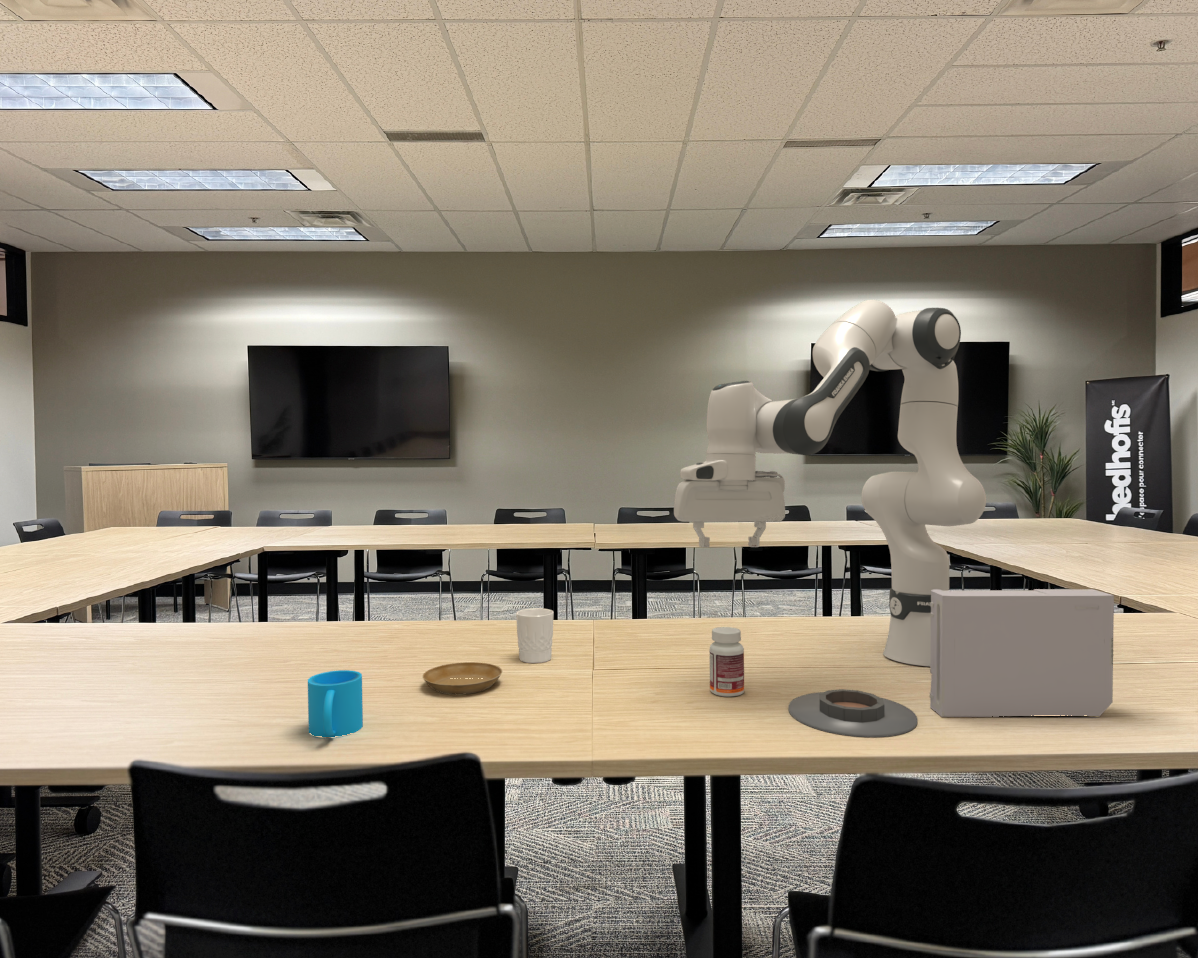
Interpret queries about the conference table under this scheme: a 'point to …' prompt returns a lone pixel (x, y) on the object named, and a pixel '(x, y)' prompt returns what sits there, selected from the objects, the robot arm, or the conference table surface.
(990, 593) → the game console
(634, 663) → the conference table surface
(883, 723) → the round tray
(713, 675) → the pill bottle
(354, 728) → the mug
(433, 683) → the plant saucer
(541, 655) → the white cup
